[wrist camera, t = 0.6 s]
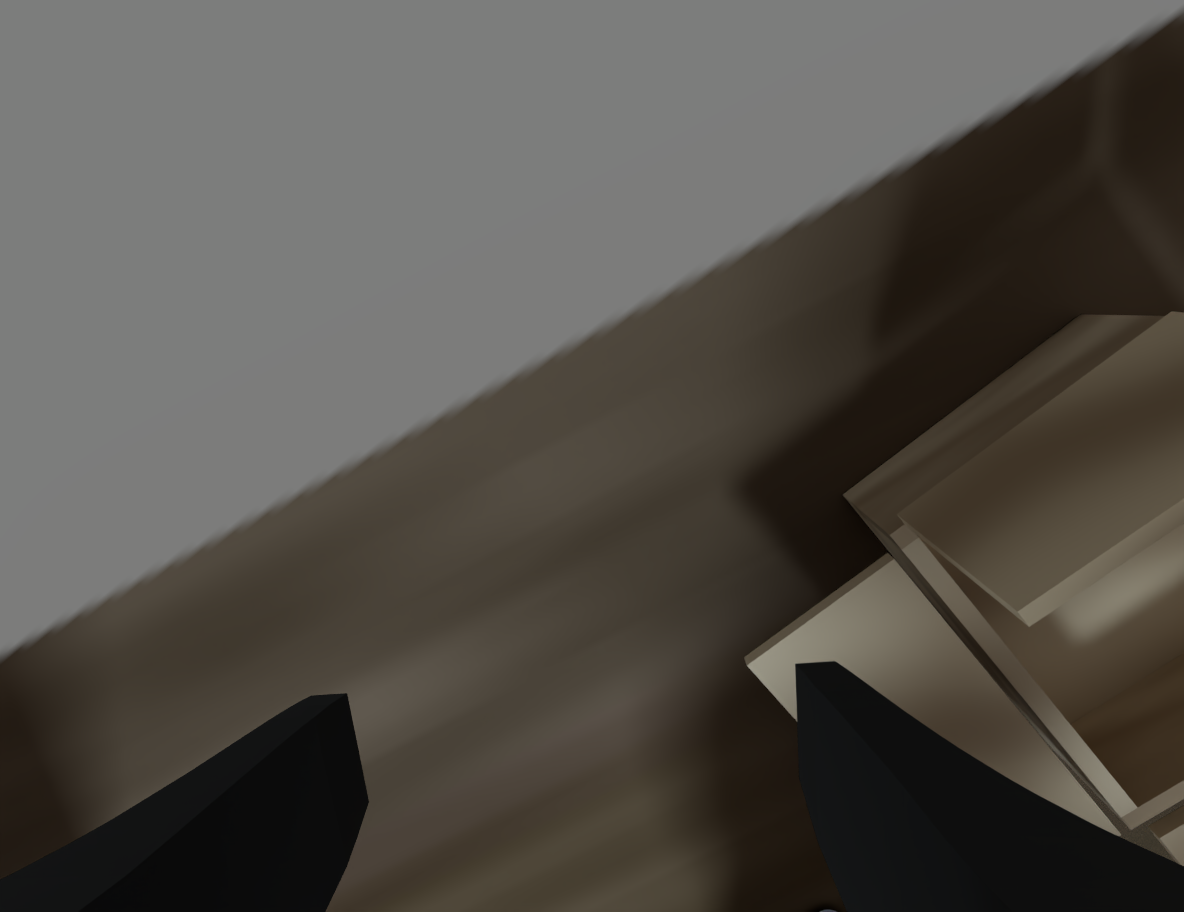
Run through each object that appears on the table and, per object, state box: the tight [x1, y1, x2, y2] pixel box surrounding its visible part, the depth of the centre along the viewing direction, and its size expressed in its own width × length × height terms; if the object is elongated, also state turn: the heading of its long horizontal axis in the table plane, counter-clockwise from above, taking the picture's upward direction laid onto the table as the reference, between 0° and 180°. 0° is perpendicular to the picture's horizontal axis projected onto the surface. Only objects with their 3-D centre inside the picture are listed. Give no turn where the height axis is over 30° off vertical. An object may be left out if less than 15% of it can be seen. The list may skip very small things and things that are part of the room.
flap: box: [897, 311, 1184, 627], centre depth 13 cm, size 4×7×1 cm
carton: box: [744, 314, 1184, 866], centre depth 18 cm, size 16×13×4 cm
